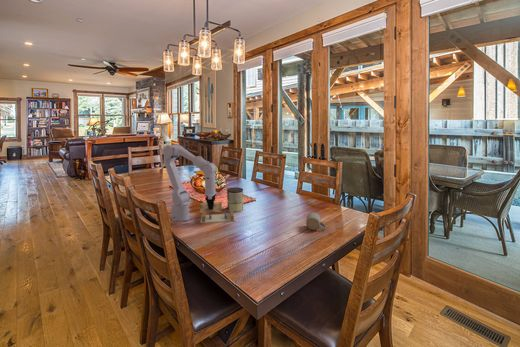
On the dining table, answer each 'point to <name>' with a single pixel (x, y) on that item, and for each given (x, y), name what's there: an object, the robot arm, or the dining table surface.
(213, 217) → the peg plate
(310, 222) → the ceramic mug
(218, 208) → the tan wooden block
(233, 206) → the coffee can
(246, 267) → the dining table surface
